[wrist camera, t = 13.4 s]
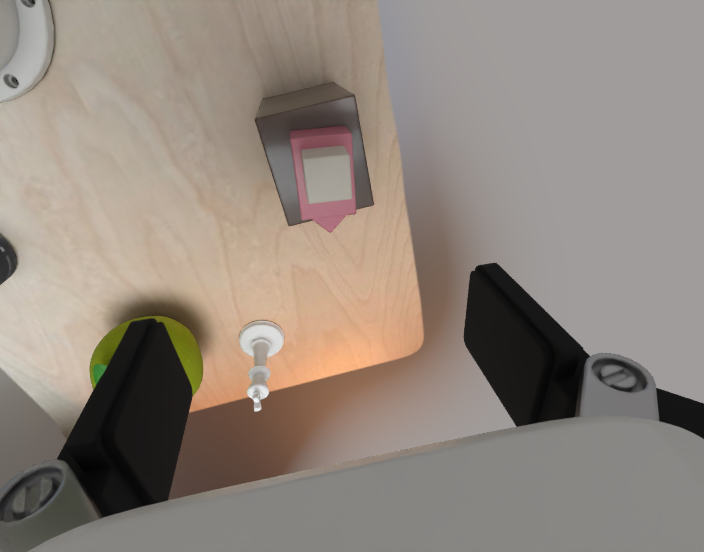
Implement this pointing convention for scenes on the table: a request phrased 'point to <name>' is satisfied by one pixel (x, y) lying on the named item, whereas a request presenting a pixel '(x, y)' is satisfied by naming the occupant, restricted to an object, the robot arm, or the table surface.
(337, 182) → the pink and grey toy
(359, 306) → the table surface
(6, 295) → the table surface
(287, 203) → the block
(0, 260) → the pill bottle
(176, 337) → the fruit
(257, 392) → the chess piece
